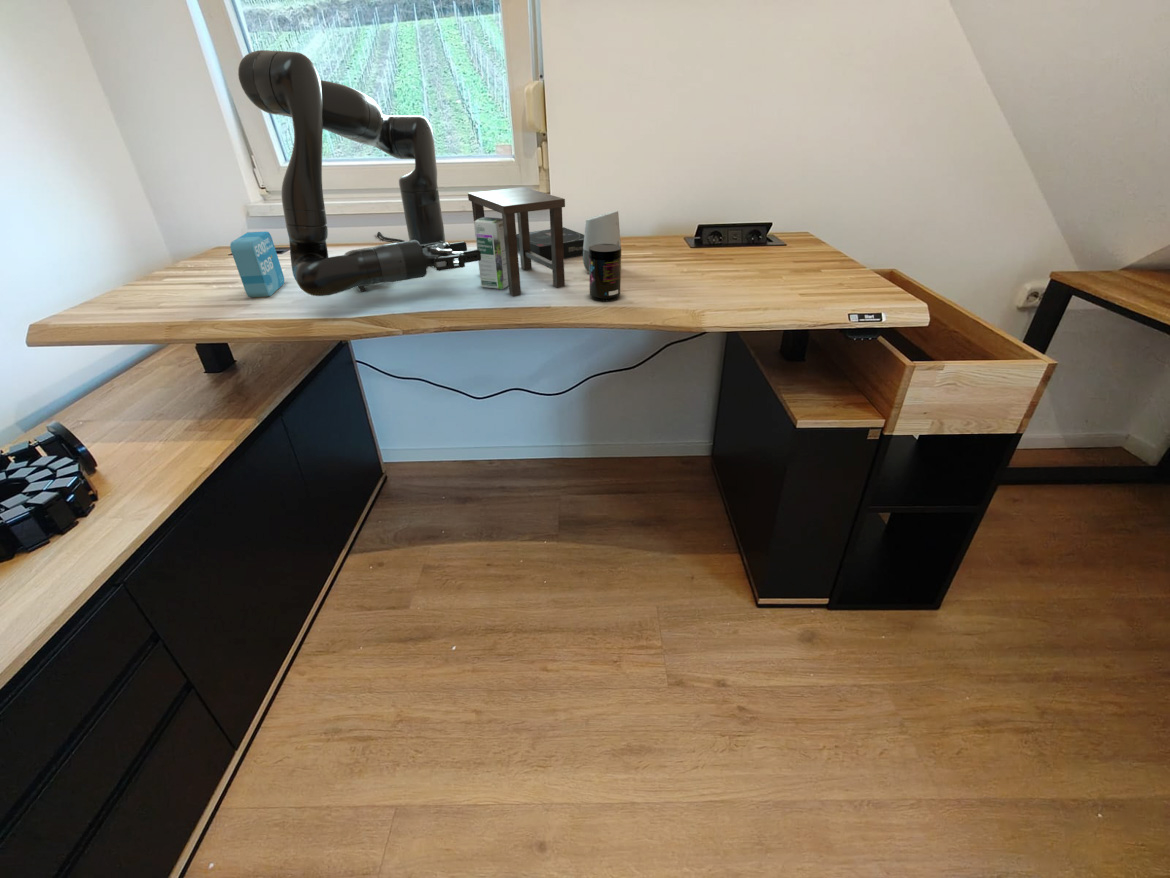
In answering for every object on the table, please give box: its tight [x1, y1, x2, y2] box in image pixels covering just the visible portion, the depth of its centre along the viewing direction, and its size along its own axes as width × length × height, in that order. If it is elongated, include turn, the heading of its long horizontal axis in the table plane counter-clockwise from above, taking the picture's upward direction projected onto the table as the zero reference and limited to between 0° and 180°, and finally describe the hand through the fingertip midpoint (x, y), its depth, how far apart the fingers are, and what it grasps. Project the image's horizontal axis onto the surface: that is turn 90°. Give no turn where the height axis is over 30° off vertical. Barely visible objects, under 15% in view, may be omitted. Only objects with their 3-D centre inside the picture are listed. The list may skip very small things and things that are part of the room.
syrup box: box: [473, 216, 509, 290], centre depth 124 cm, size 6×6×14 cm
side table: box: [467, 186, 566, 297], centre depth 126 cm, size 20×14×19 cm
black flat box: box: [516, 226, 584, 261], centre depth 152 cm, size 16×17×4 cm
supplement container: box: [588, 244, 622, 302], centre depth 117 cm, size 7×7×10 cm
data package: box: [229, 231, 285, 298], centre depth 124 cm, size 12×4×12 cm, turn 8°
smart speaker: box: [582, 210, 622, 273], centre depth 133 cm, size 10×9×14 cm
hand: (472, 250), depth 122 cm, fingers open, 8 cm apart
